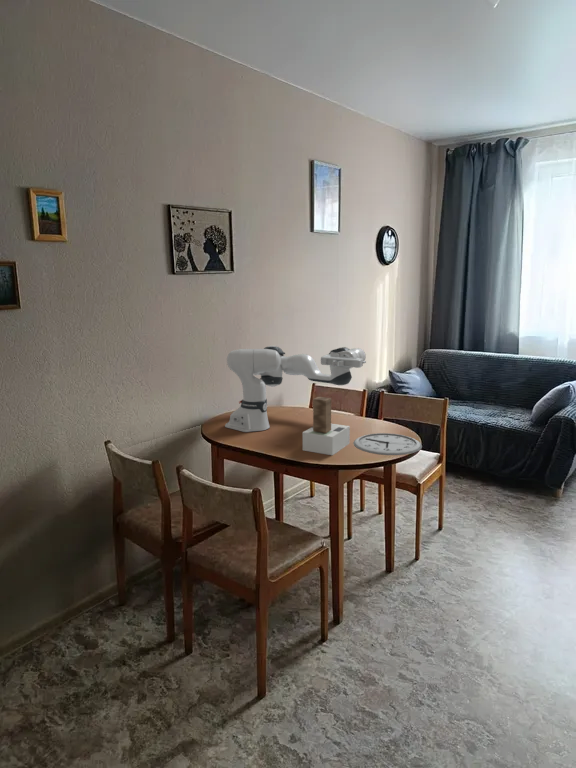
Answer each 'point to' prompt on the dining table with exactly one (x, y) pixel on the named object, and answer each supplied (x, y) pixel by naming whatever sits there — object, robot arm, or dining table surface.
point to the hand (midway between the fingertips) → (334, 364)
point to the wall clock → (387, 444)
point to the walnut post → (322, 414)
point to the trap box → (326, 440)
